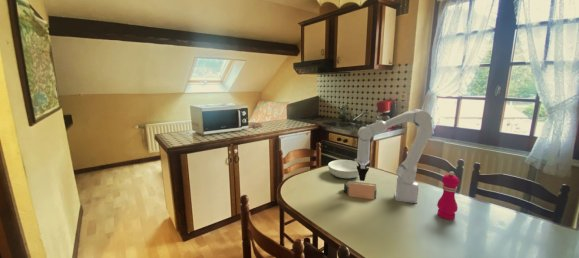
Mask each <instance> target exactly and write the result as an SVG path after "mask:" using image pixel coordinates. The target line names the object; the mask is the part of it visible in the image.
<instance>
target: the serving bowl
mask: <svg viewBox="0 0 579 258" xmlns="http://www.w3.org/2000/svg"><path fill="white" fill-rule="evenodd" d="M327 166H328V170H329V172H330V173H331V174H332V175H333V176H334V177H338V178H340V179H354V178H358V177H359V173H358V170H357V166H359V165H358V163H357V161H355V160H351V159H349V160H348V159H336V160H332V161H330V162H328V164H327Z"/></svg>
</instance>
